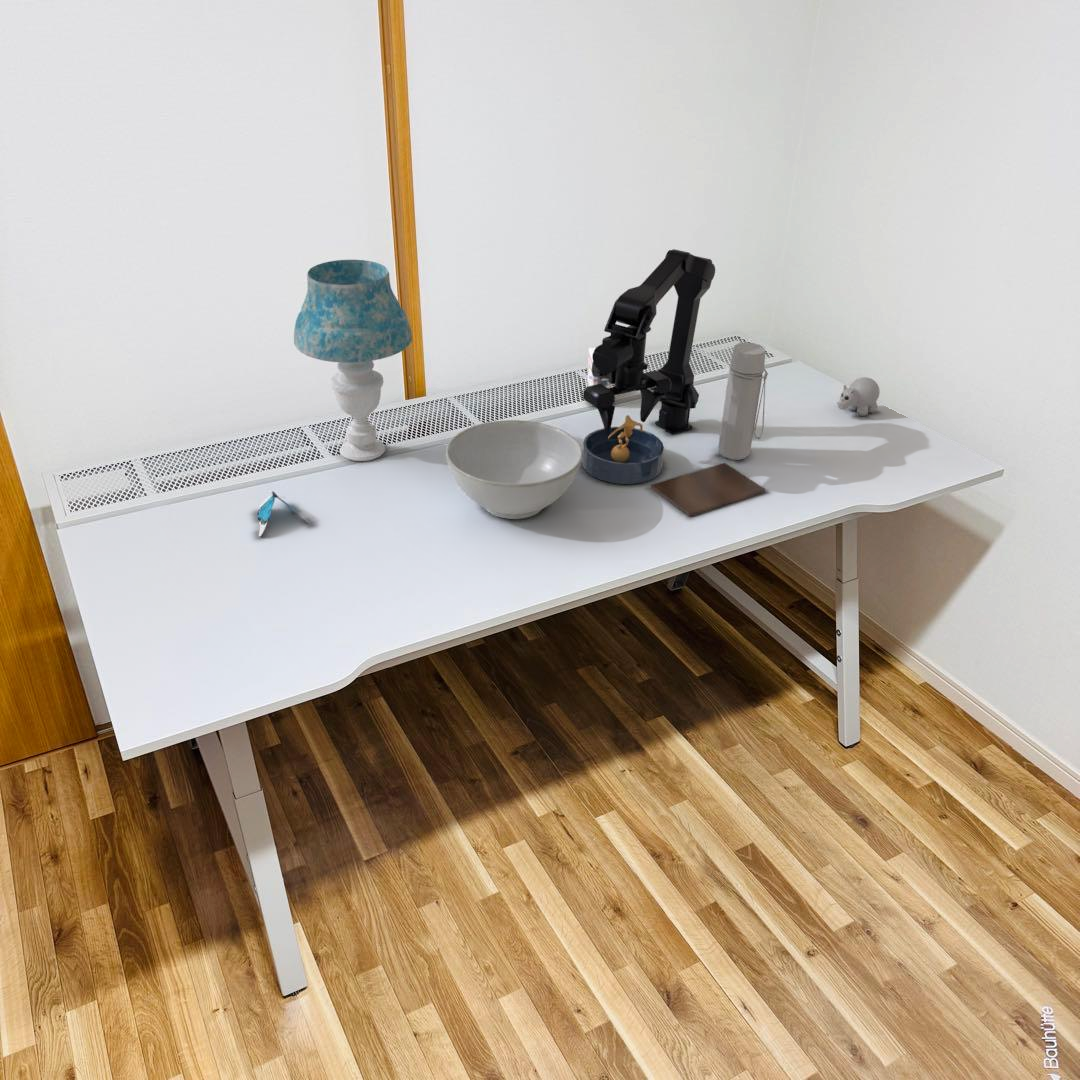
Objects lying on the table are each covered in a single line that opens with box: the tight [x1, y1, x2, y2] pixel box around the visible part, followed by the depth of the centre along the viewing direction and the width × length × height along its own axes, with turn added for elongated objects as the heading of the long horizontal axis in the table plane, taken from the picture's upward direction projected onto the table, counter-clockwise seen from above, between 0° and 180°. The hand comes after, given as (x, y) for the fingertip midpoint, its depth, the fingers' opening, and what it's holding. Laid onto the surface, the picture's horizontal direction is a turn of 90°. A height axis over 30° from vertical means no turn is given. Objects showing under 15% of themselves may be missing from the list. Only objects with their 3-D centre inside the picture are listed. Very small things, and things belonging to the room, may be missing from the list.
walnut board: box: [650, 462, 766, 518], centre depth 205 cm, size 20×13×1 cm, turn 121°
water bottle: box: [717, 341, 769, 461], centre depth 212 cm, size 9×8×25 cm
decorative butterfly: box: [257, 490, 309, 537], centre depth 191 cm, size 10×6×10 cm
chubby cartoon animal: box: [836, 376, 881, 417], centre depth 236 cm, size 7×12×8 cm, turn 120°
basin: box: [581, 426, 665, 485], centre depth 212 cm, size 17×17×5 cm
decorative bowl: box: [445, 419, 583, 520], centre depth 196 cm, size 27×27×12 cm
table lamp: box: [293, 259, 413, 462], centre depth 205 cm, size 24×24×40 cm
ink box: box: [586, 347, 613, 407], centre depth 238 cm, size 9×5×15 cm, turn 6°
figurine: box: [608, 414, 644, 463], centre depth 210 cm, size 8×6×12 cm
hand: (624, 426), depth 209 cm, fingers open, 9 cm apart
